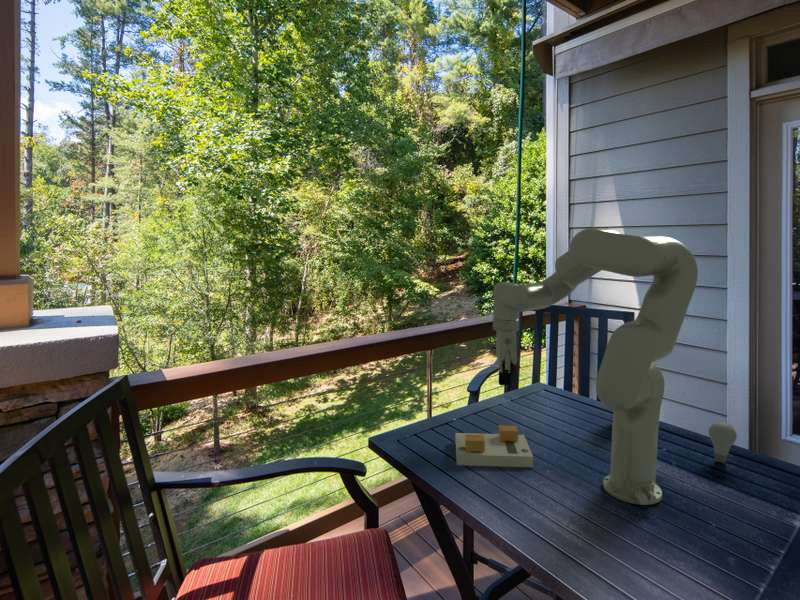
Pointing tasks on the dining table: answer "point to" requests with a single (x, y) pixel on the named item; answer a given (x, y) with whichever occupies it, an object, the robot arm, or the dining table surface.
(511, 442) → the switch panel
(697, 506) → the dining table surface
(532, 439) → the dining table surface
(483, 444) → the left tab
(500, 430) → the right tab
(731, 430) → the lightbulb
